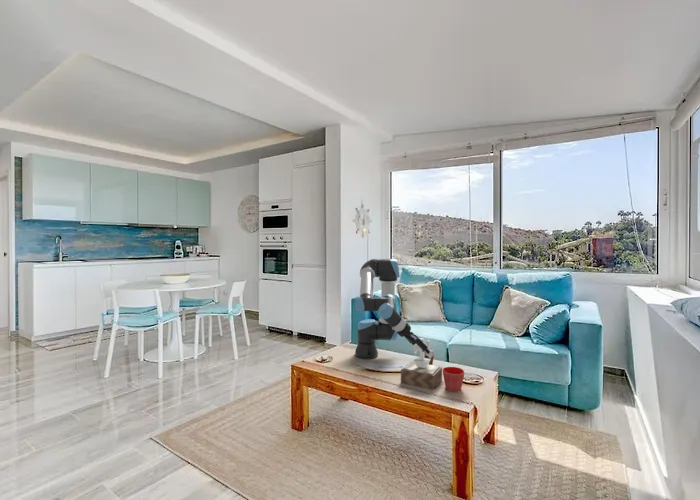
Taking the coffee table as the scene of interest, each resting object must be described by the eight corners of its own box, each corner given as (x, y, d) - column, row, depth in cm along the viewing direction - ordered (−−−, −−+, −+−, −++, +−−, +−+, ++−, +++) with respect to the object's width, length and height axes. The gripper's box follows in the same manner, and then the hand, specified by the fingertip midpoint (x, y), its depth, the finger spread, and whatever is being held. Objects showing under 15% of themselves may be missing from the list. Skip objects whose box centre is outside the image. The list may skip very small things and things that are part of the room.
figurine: (416, 363, 206) (416, 336, 206) (433, 366, 201) (432, 338, 201) (411, 366, 200) (410, 338, 200) (427, 369, 195) (427, 340, 195)
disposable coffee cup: (416, 370, 217) (416, 350, 216) (420, 366, 225) (421, 346, 225) (432, 373, 212) (432, 352, 212) (436, 368, 221) (436, 348, 220)
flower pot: (451, 394, 184) (452, 375, 184) (438, 386, 194) (438, 368, 194) (468, 391, 188) (469, 372, 188) (454, 383, 198) (454, 365, 198)
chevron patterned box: (400, 382, 199) (400, 368, 199) (410, 373, 212) (410, 360, 212) (433, 389, 190) (433, 374, 190) (441, 379, 203) (442, 366, 203)
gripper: (387, 327, 205) (413, 353, 211) (406, 337, 185) (433, 365, 191) (396, 317, 207) (421, 343, 213) (415, 325, 187) (442, 354, 193)
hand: (427, 353), depth 202 cm, fingers open, 8 cm apart
